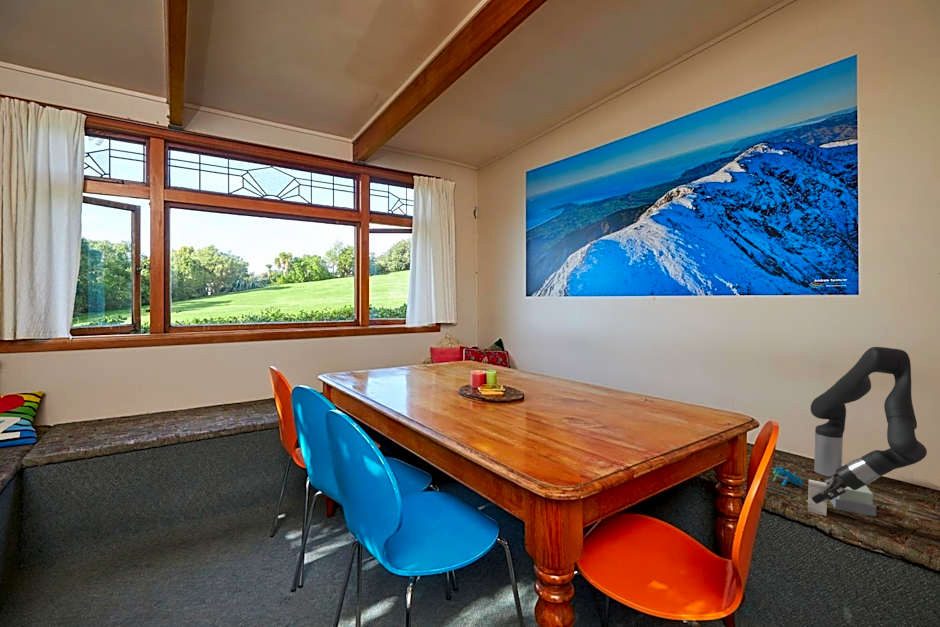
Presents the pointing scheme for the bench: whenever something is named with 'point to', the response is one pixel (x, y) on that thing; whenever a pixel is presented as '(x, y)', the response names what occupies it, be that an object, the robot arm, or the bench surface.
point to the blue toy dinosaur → (786, 476)
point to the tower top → (858, 495)
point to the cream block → (813, 490)
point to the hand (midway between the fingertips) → (813, 496)
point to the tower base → (854, 506)
